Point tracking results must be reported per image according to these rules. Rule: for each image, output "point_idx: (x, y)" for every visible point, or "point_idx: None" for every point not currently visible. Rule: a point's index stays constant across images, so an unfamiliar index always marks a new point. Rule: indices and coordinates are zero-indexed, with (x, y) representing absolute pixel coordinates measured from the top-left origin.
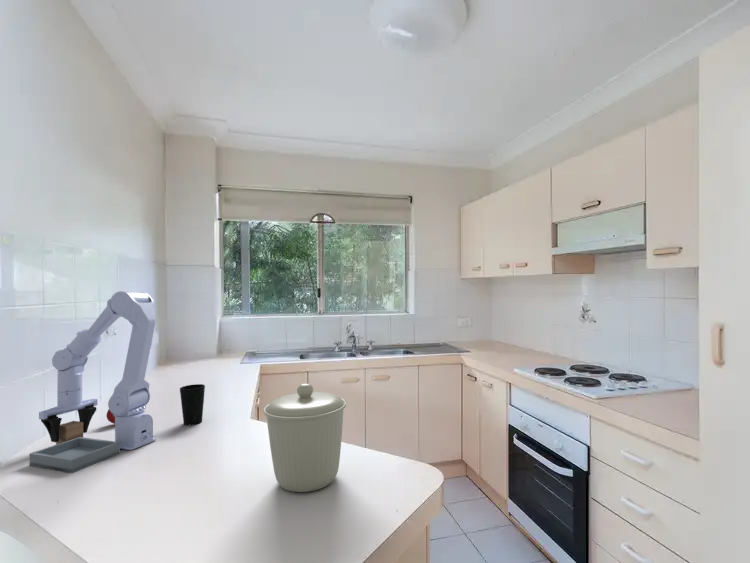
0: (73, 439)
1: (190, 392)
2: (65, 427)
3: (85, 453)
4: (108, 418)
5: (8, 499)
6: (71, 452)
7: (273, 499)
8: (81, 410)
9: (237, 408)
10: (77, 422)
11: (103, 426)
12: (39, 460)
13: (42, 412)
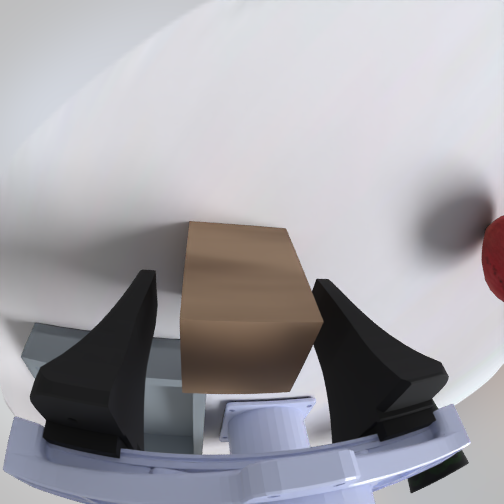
0: (173, 382)
1: (409, 486)
2: (182, 383)
3: (154, 408)
4: (494, 247)
5: (5, 399)
6: None
7: None
8: (370, 410)
9: (471, 390)
10: (279, 376)
11: (483, 183)
12: None
13: (26, 483)
